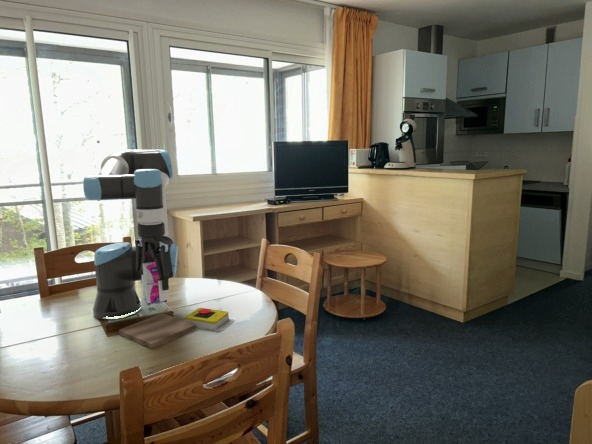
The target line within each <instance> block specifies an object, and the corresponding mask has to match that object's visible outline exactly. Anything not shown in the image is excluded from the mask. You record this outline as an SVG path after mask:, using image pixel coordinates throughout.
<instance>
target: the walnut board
mask: <svg viewBox="0 0 592 444" xmlns="http://www.w3.org/2000/svg"><path fill="white" fill-rule="evenodd" d="M195 330H197V328H196V325H195V324H192V323H189V322H186V321H185V319H181V318H179V317H176V316H172V315H169V314H166V313H164V314H162V313H161V315H160V314H157V315H155V316H154V315H153V316H152V317H149V318H147V319H146V318H145V319H143V320H141V321H138V322H135V323H132V324H130V325H128V326H125V327H122V328H120V329H118V335H120V336H122V337H124V338H126V339H128V340H130V341H132V342H135V343H138V344H140V345H142V346H144V347H146V348H148V349H150V350H152V349H154V348H157V347H160V346H161V345H164V344H166V343H168V342H171V341H173V340H175V339H177V338H179V337H181V336H184V335H186V334H189V333H191V332H193V331H195Z"/></svg>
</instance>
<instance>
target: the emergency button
mask: <svg viewBox="0 0 592 444" xmlns="http://www.w3.org/2000/svg"><path fill="white" fill-rule="evenodd" d="M229 315H230V314H229V311H226V310H220V309H219V310H218V309H212V308H206V307H198V308H196V309H195V310H193V311H192V312H190V313H188V314H187V315H186V316H184V321H186V322H189V323H192V324H195V325H196V329H197V328H198V329H201V330H202V329H203V330H208V331H209V330H210V331H215V332H223V331H224V330H225V329H227V328H228V327H229V326H230V325H232V324H233V323H234V322H235V319H232V318H230V316H229Z"/></svg>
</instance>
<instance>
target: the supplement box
mask: <svg viewBox="0 0 592 444" xmlns="http://www.w3.org/2000/svg"><path fill="white" fill-rule="evenodd" d="M163 276H164V275H163ZM158 279H160V277H159V273H158V270H157V267H156V263H155V262H150V263H143V281H144V300H145V303H146V305H147V306H149V305H154V304H161V303H167V302H168V299H167V300H165V301H162V302H161V301H160V300H159V284H158Z"/></svg>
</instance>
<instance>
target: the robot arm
mask: <svg viewBox="0 0 592 444" xmlns="http://www.w3.org/2000/svg"><path fill="white" fill-rule="evenodd" d="M173 177H174V173H173V165H172V161H171V156H170V153H169V152H168V151H167V150H166V149H158V148H155V149H122V150H119V151H116V152H114V153H112V154H111V153H110V154H109V155H107V156H106V157H105V158H104V159H103V160H102V162H101V164H100V170H99V172H98V173H97V174H92V175H90V174H89V175H85V177H83V181H82V182H83V183H82V184H83V193H84V197H85V199H86V200H87V201H97V202H99V201H112V200H113V201H115V200H116V201H117V200H135V209H136V221H137V223H138V224H137V236H138V237H139V238H140V239H135V240H134V243H135V246H133V245H132V244H131V242H128V241H126V242H124V241H123V242H116V243H112V244H108V245H105V246H101V247H99V248H98V249H96V250H95V252H94V254H93V256H94V263H93V265H94V269H95V281H96V296H95V298H94V299H95V300H94V303H93V307H92V314H93V317H94V318H95V319H98V320H102V318H103V317H106V316H108V317H114V316H121V315H125V314H128V313H131V312H134V311H136V310H138V309H139V308H140V307H141V308H142V304H141V300H140V298H139V295H138V293H137V291H136V288H135V282H137V281H139V282H140V281H141V286H142V287H141V288H142V296H144V281H143V263H150V262H155V263H156V267H157V270H158V273H159V277H160V279H158V284H159V300H160V301H161V302H162V301H165V300H167V301H168V300H170V298H169V289H170V288H169V287H170V286H169V280H170V279H171V278H173V277H175V276H176V273H177V267H178V266H177V265H178V252H179V250H178V248H179V246H178V244H176V243H174V239H172V237H170V236H169V224H168V223H169V222H168V221H169V220H168V205H167V189H166V186H167V185H168V184H169V182H170V179H171V180H172V179H173ZM163 275H164V276H163ZM162 303H163V302H162Z"/></svg>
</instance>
